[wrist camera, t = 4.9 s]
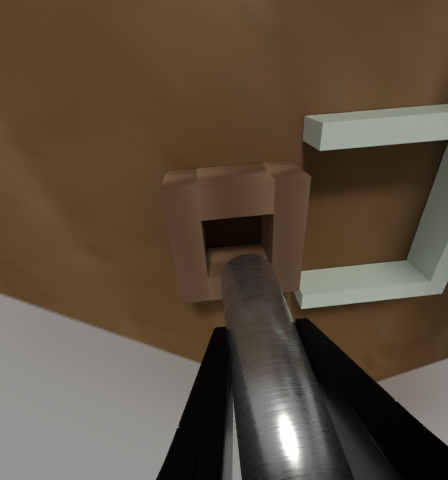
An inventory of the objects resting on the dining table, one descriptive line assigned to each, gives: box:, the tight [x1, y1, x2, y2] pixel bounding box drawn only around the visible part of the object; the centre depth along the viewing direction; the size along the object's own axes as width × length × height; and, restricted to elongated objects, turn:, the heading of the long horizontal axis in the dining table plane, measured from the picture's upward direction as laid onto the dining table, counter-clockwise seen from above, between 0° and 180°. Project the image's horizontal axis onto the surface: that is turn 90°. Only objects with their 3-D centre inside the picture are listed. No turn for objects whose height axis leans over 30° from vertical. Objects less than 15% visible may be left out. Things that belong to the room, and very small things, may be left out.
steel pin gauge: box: [220, 254, 355, 480], centre depth 8 cm, size 3×3×9 cm
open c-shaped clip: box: [294, 104, 448, 309], centre depth 16 cm, size 10×11×2 cm
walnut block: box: [159, 160, 311, 303], centre depth 15 cm, size 7×7×3 cm
